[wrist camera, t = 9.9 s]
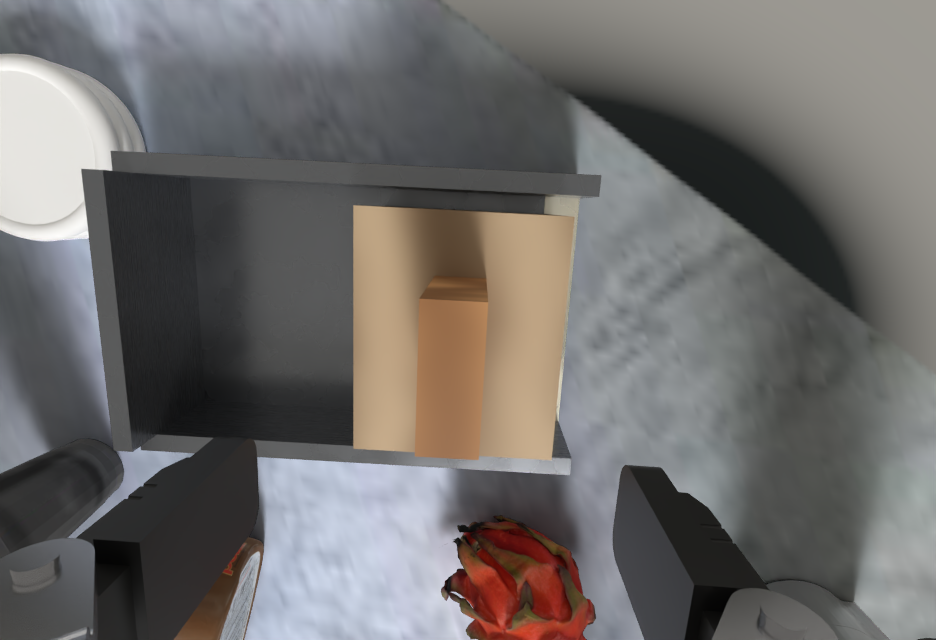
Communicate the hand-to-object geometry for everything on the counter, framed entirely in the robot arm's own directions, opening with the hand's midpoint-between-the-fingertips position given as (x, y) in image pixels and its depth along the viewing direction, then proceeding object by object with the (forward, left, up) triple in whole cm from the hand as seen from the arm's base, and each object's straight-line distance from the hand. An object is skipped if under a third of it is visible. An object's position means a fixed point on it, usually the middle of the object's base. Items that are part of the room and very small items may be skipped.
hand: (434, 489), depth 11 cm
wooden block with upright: (0, 0, -20) cm, 20 cm away
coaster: (+25, -8, -22) cm, 34 cm away
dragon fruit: (-4, +18, -22) cm, 29 cm away
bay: (+6, 0, -22) cm, 22 cm away
